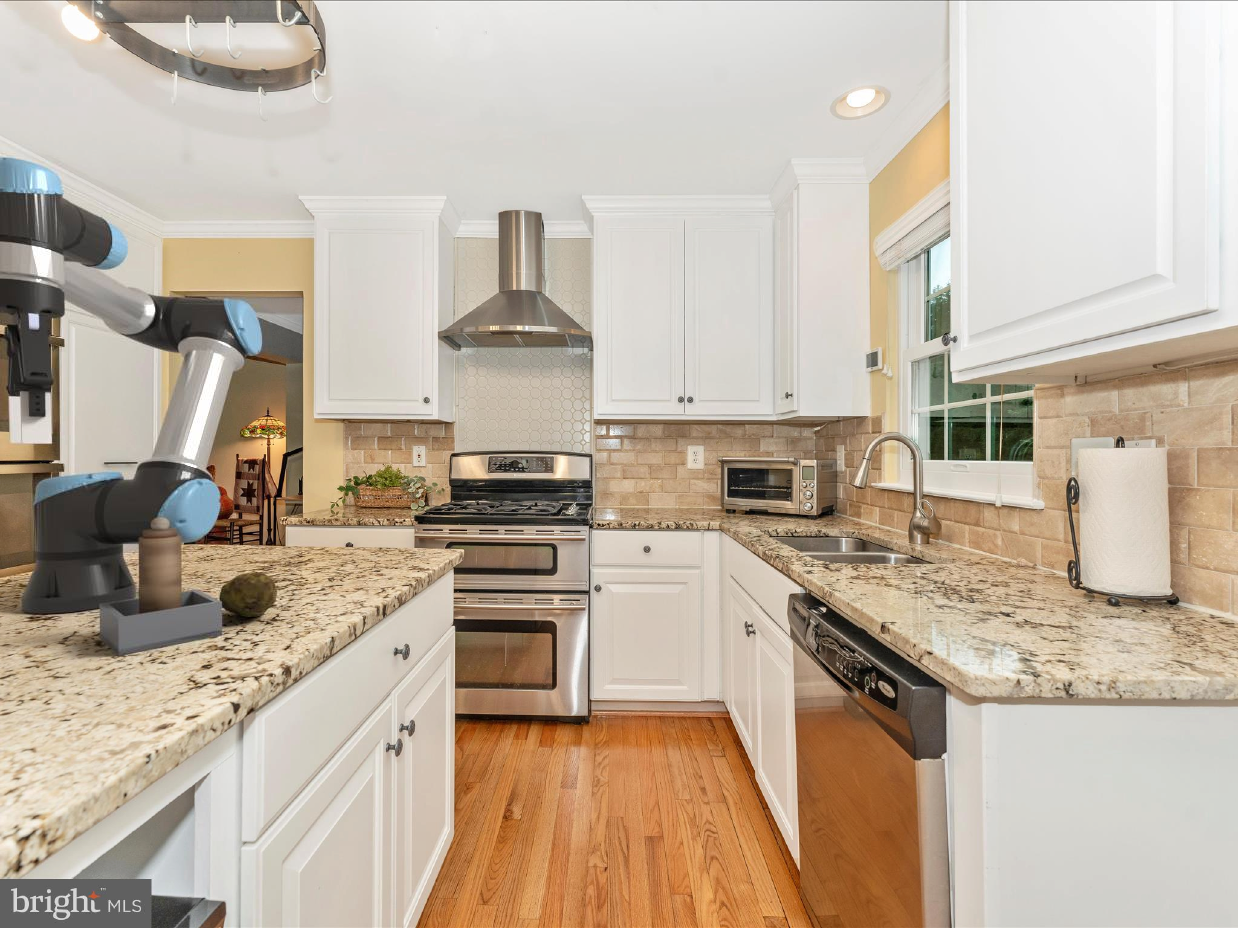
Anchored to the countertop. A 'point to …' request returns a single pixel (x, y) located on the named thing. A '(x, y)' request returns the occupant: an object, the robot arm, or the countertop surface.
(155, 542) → the pepper mill
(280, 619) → the countertop surface
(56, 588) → the robot arm
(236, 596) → the potato
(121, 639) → the tub
